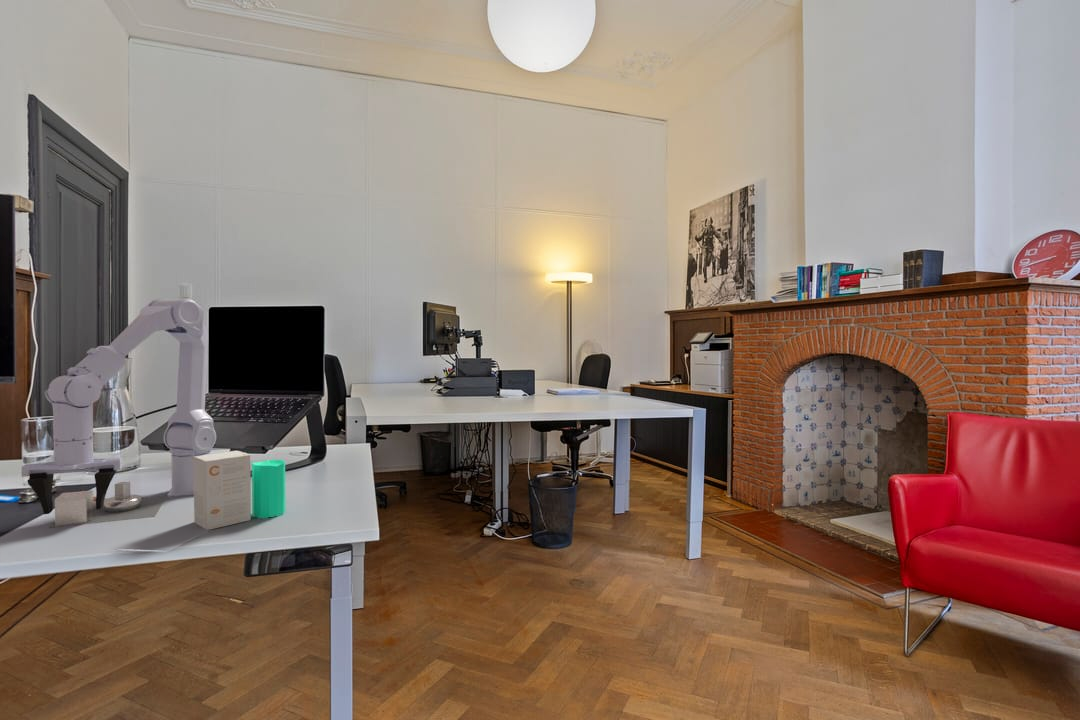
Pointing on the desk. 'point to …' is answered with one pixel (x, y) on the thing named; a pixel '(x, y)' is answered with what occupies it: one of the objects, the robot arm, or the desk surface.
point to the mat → (146, 510)
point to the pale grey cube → (73, 508)
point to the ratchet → (120, 500)
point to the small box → (222, 489)
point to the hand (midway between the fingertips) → (74, 510)
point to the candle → (268, 488)
